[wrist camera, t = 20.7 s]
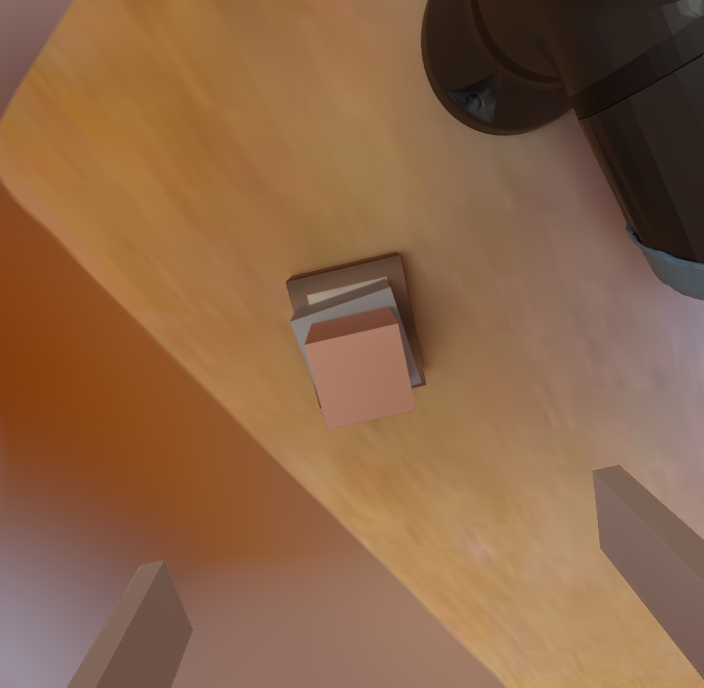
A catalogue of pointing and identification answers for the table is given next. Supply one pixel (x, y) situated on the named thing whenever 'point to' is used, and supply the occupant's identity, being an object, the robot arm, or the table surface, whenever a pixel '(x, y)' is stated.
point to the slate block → (347, 305)
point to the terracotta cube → (359, 368)
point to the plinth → (355, 276)
